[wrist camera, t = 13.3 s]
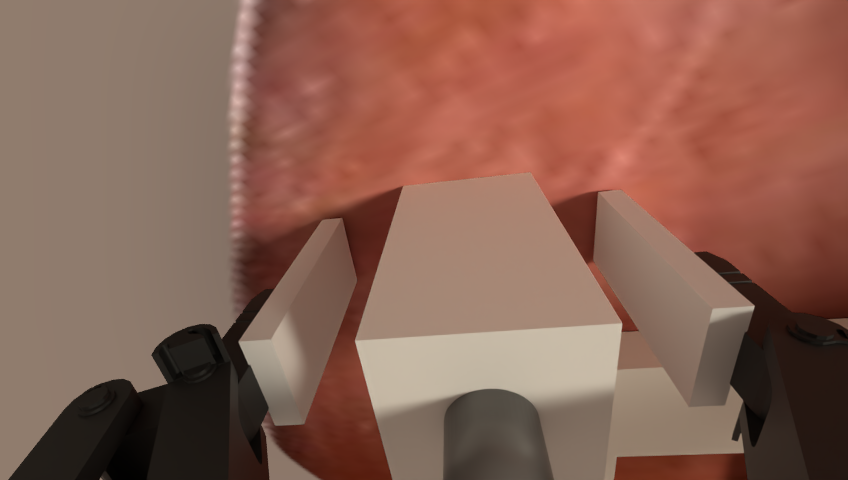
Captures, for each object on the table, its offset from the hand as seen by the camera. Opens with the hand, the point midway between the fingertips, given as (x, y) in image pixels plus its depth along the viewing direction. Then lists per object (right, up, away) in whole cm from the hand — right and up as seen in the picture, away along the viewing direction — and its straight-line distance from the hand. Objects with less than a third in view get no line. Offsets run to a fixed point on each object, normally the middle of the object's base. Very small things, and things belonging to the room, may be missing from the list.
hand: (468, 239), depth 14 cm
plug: (0, 0, 0) cm, 0 cm away
